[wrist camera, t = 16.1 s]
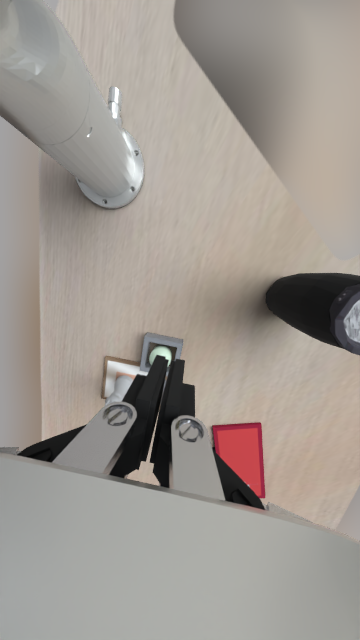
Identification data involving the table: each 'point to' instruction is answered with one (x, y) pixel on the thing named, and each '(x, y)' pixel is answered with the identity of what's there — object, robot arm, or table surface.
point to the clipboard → (119, 373)
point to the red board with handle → (242, 452)
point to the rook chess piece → (119, 389)
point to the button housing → (158, 339)
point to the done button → (161, 353)
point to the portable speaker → (320, 306)
